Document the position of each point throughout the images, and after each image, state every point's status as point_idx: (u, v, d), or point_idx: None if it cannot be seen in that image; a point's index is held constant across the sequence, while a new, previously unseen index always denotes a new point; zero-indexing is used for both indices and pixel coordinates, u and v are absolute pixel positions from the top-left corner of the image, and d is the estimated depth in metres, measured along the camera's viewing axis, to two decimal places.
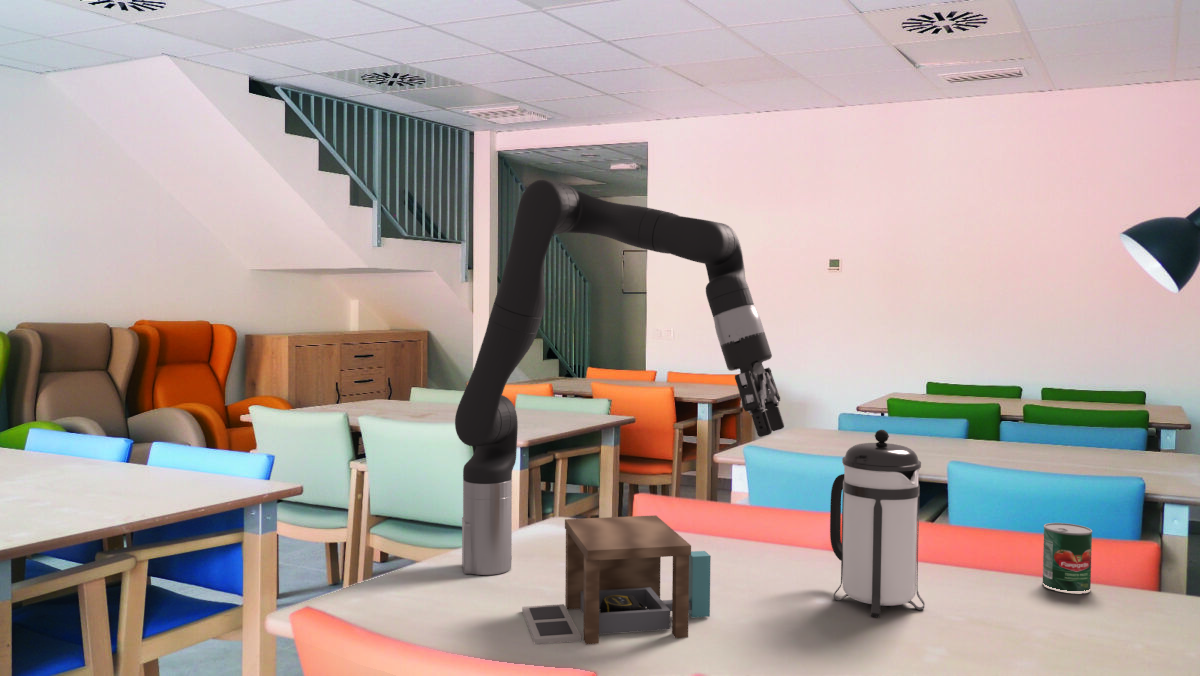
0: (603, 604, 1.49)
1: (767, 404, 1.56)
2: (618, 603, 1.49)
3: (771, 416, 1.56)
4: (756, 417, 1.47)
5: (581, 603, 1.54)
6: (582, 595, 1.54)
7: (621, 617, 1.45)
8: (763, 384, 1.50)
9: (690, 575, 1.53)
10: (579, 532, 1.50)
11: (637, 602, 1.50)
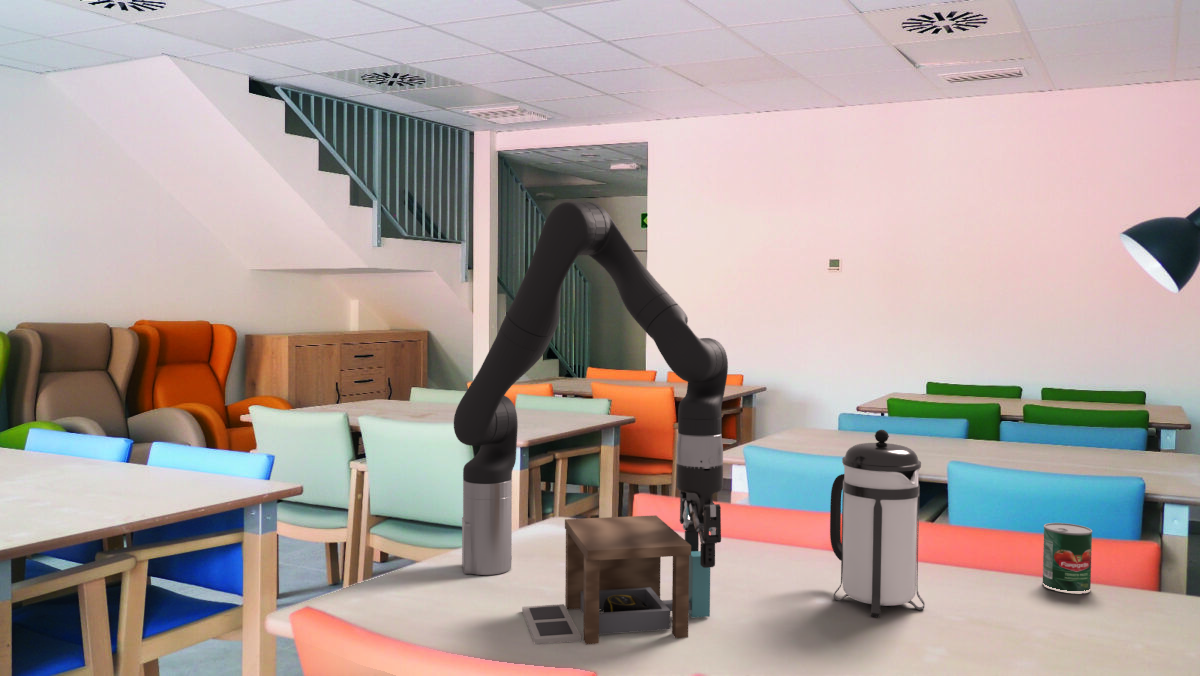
0: (606, 604, 1.49)
1: (689, 526, 1.57)
2: (621, 602, 1.49)
3: (690, 539, 1.57)
4: (707, 549, 1.48)
5: (581, 603, 1.54)
6: (582, 595, 1.54)
7: (621, 617, 1.45)
8: None
9: (690, 575, 1.53)
10: (579, 532, 1.50)
11: (640, 602, 1.50)
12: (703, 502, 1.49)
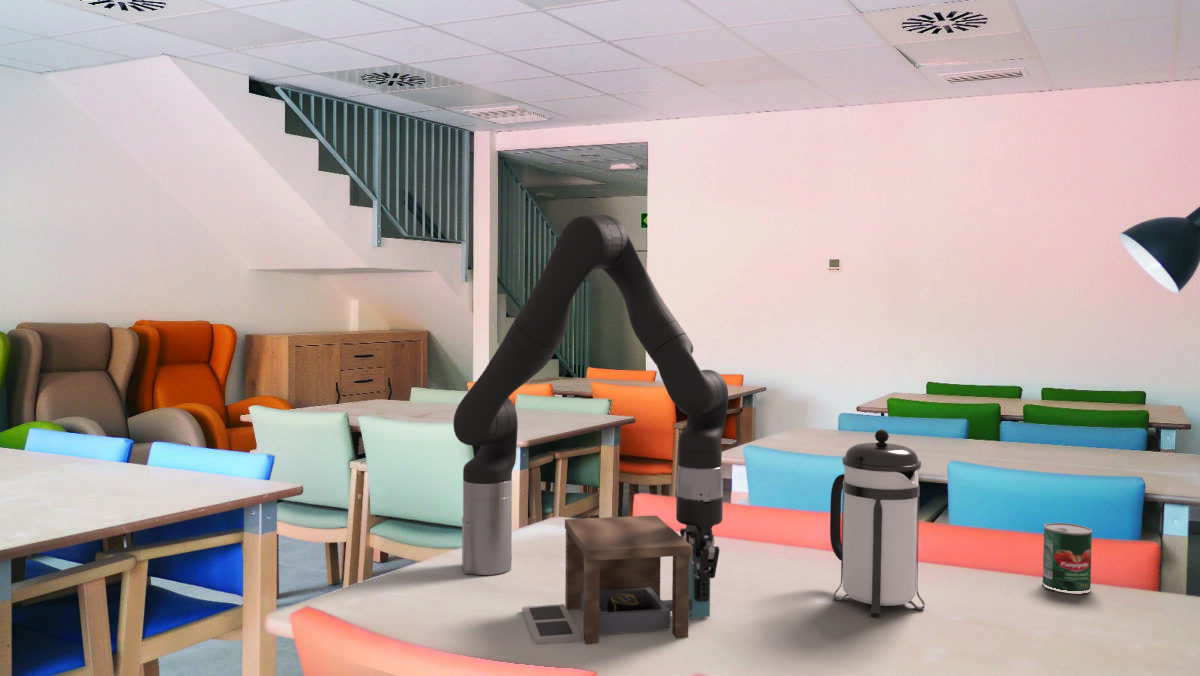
0: (610, 603, 1.50)
1: None
2: (625, 602, 1.50)
3: None
4: (702, 583, 1.51)
5: (581, 603, 1.54)
6: (582, 595, 1.54)
7: (621, 617, 1.45)
8: None
9: (690, 575, 1.53)
10: (579, 532, 1.50)
11: (644, 601, 1.50)
12: (703, 538, 1.49)
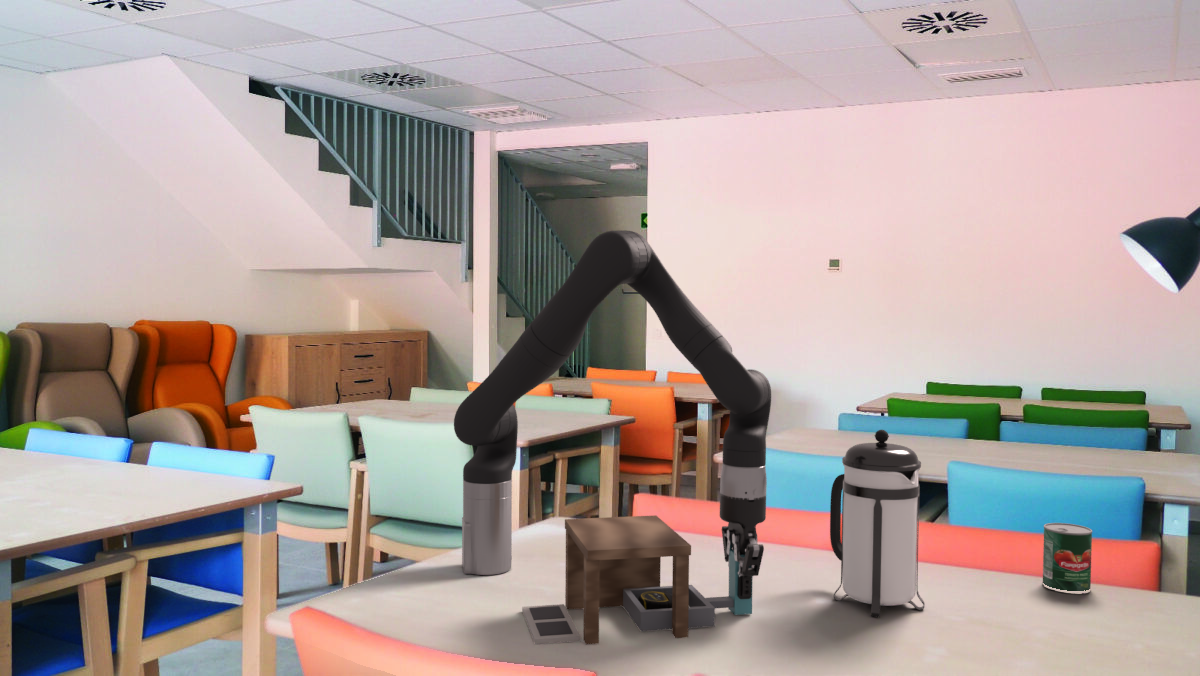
0: (640, 600, 1.51)
1: None
2: (655, 599, 1.51)
3: None
4: (745, 581, 1.52)
5: (624, 600, 1.56)
6: (625, 592, 1.55)
7: (667, 614, 1.46)
8: None
9: (732, 573, 1.54)
10: (579, 532, 1.50)
11: None
12: (747, 536, 1.50)
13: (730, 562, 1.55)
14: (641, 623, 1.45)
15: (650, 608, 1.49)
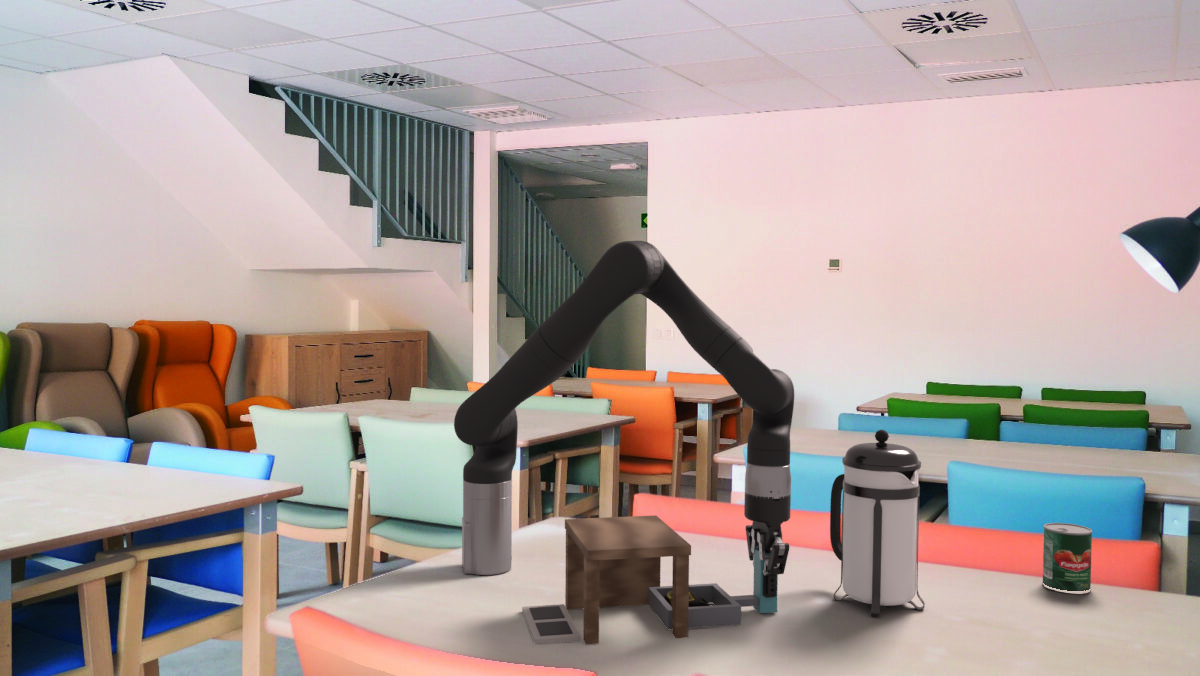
0: (666, 599, 1.52)
1: None
2: None
3: None
4: (770, 579, 1.53)
5: (649, 599, 1.57)
6: (651, 591, 1.56)
7: (694, 612, 1.47)
8: None
9: (758, 571, 1.55)
10: (579, 532, 1.50)
11: (699, 597, 1.52)
12: (772, 535, 1.51)
13: (755, 561, 1.56)
14: (668, 621, 1.46)
15: None
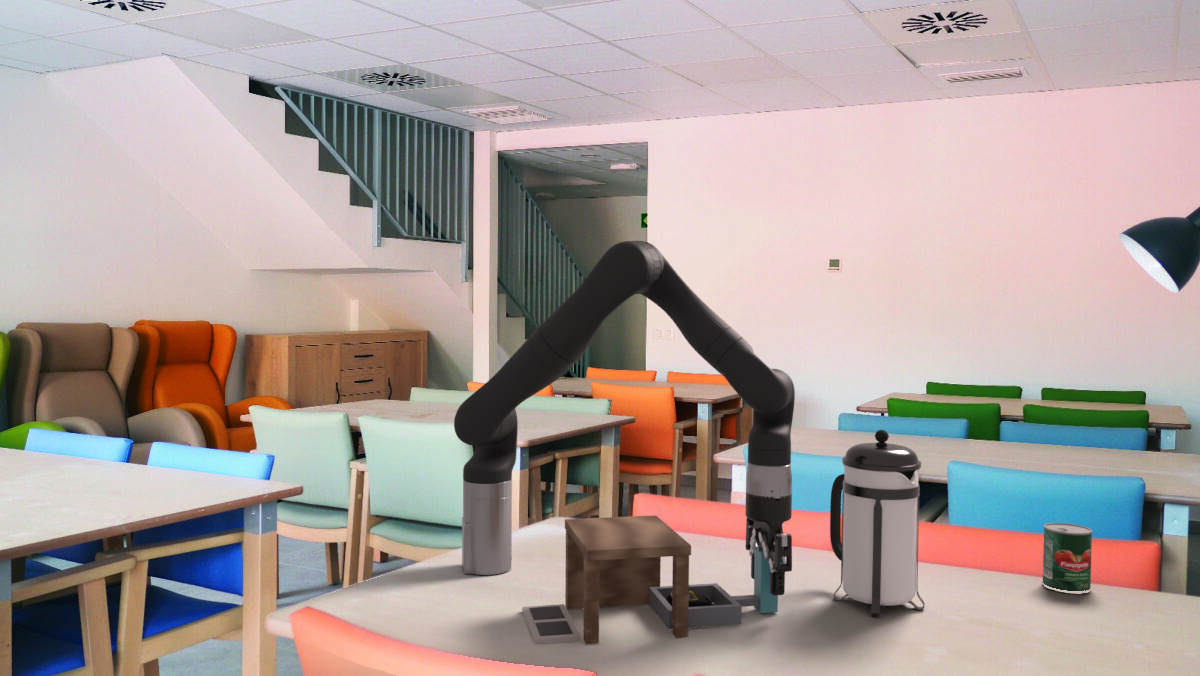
0: (670, 598, 1.52)
1: None
2: None
3: None
4: (778, 577, 1.51)
5: (650, 599, 1.57)
6: (651, 591, 1.56)
7: (694, 612, 1.47)
8: None
9: (758, 571, 1.55)
10: (579, 532, 1.50)
11: (703, 597, 1.53)
12: (773, 531, 1.51)
13: (756, 561, 1.56)
14: (669, 621, 1.46)
15: None
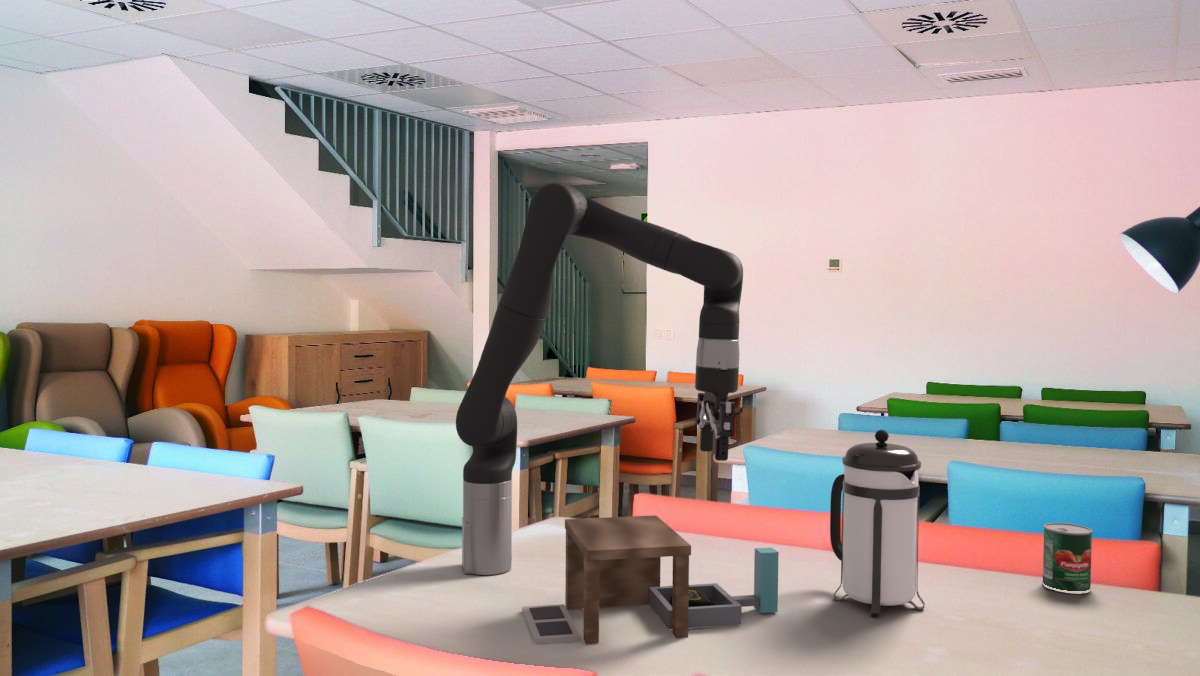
0: None
1: (705, 426, 1.69)
2: None
3: (705, 438, 1.69)
4: (722, 443, 1.60)
5: (650, 599, 1.57)
6: (651, 591, 1.56)
7: (694, 612, 1.47)
8: None
9: (758, 571, 1.55)
10: (579, 532, 1.50)
11: (706, 596, 1.53)
12: (719, 400, 1.61)
13: (756, 561, 1.56)
14: (669, 621, 1.46)
15: None
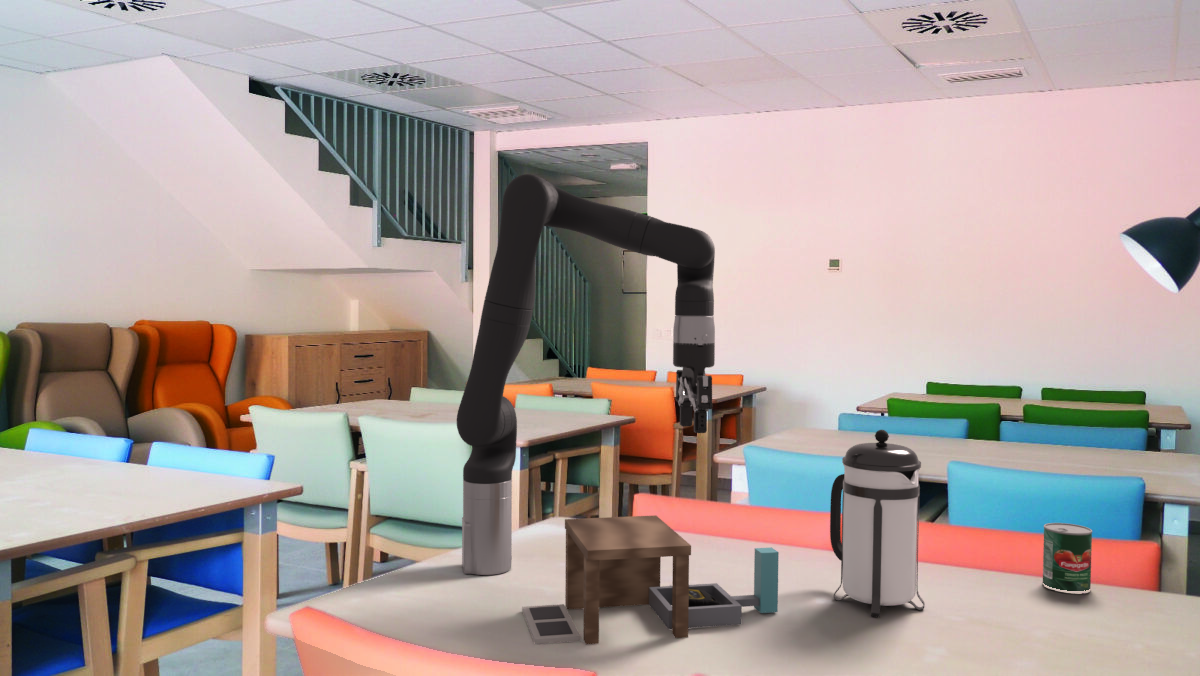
0: None
1: (684, 402, 1.75)
2: (691, 596, 1.53)
3: (685, 413, 1.75)
4: (700, 416, 1.66)
5: (650, 599, 1.57)
6: (651, 591, 1.56)
7: (694, 612, 1.47)
8: (706, 388, 1.69)
9: (758, 571, 1.55)
10: (579, 532, 1.50)
11: (709, 596, 1.53)
12: (696, 375, 1.66)
13: (756, 561, 1.56)
14: (669, 621, 1.46)
15: None
